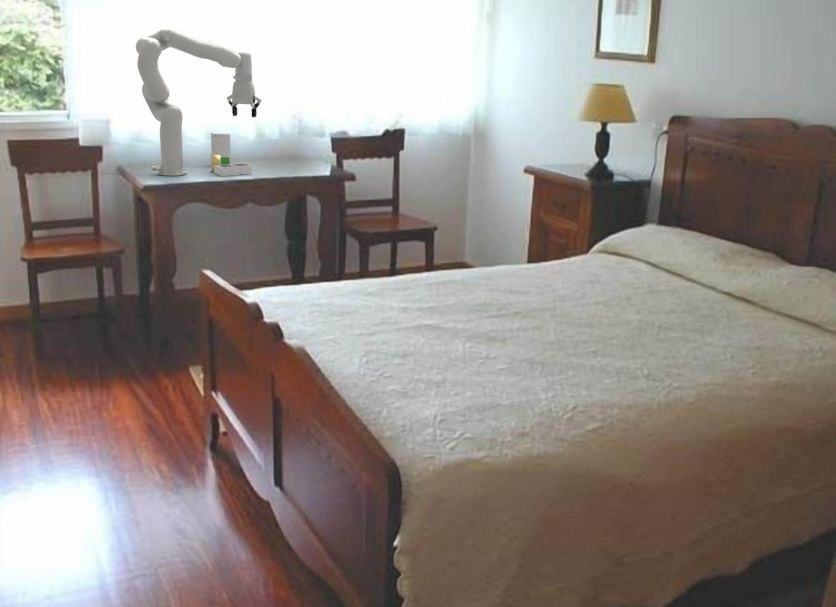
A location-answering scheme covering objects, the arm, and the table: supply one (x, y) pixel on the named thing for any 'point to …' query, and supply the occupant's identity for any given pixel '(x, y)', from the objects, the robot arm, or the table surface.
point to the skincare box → (221, 146)
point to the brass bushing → (215, 161)
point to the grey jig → (232, 169)
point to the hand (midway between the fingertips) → (244, 116)
